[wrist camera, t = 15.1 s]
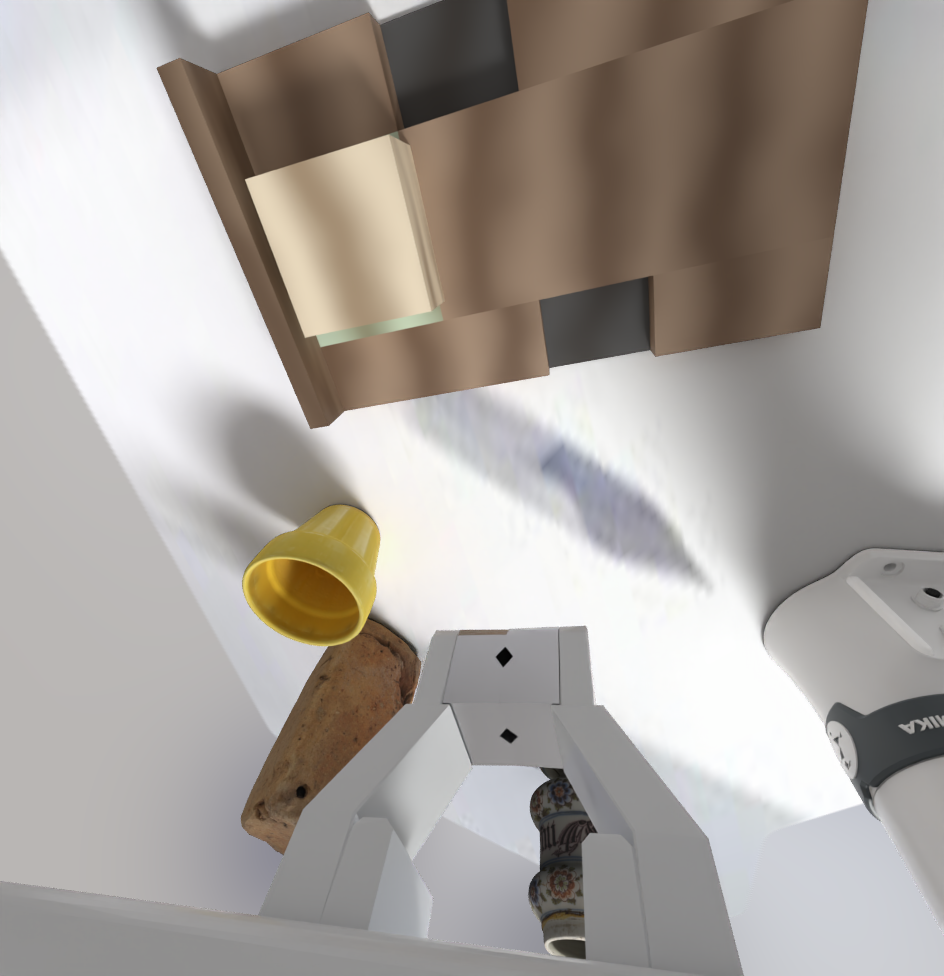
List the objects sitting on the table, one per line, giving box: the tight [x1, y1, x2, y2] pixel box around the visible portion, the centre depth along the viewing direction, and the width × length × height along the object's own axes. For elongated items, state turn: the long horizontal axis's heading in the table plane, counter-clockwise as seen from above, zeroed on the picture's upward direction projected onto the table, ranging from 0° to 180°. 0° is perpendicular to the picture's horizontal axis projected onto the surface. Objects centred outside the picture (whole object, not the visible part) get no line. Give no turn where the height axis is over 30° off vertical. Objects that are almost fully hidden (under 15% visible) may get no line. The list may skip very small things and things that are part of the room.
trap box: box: [157, 0, 868, 429], centre depth 26 cm, size 34×20×5 cm, turn 103°
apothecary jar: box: [528, 767, 598, 959], centre depth 51 cm, size 12×12×18 cm
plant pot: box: [242, 504, 380, 646], centre depth 40 cm, size 10×10×10 cm
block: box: [241, 619, 421, 855], centre depth 44 cm, size 11×8×20 cm
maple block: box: [245, 135, 445, 338], centre depth 27 cm, size 8×8×4 cm
